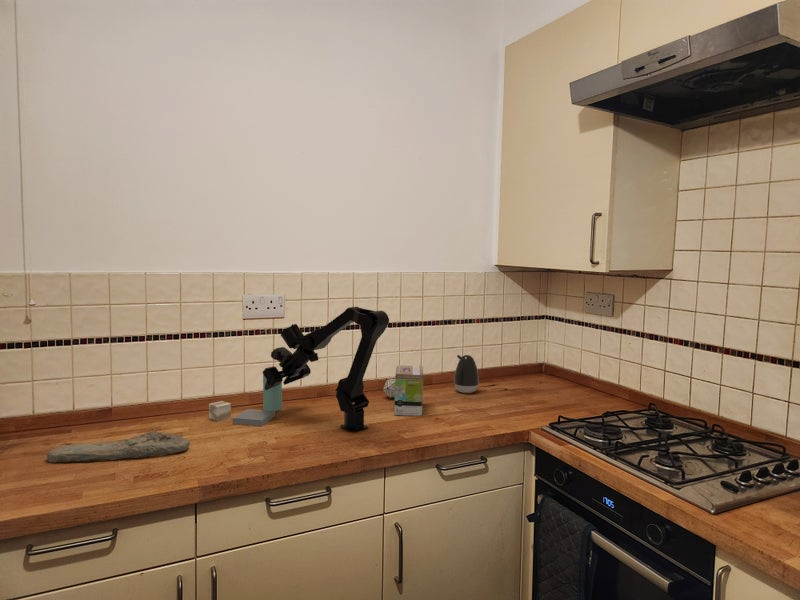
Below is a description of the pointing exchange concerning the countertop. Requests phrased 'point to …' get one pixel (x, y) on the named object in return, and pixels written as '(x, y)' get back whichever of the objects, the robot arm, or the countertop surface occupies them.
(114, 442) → the long grey stone
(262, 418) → the slate slab
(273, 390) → the teal block
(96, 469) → the countertop surface
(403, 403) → the tea box
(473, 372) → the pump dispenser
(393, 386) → the game die
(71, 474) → the countertop surface
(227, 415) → the cream cube
